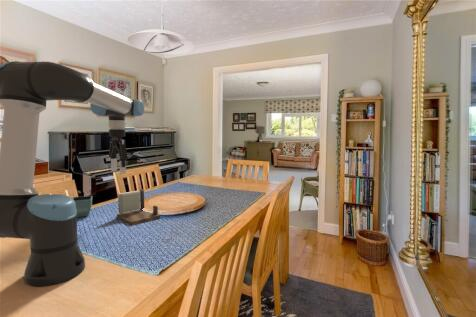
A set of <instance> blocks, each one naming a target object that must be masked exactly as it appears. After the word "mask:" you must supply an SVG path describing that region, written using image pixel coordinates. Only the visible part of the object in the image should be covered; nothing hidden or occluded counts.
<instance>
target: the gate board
mask: <svg viewBox="0 0 476 317" xmlns="http://www.w3.org/2000/svg"><path fill="white" fill-rule="evenodd" d="M139 191H140V209H138V210H133V211H128V212H123V213H121V214H120V213H117V214H116V218H118V219H120V220H121V221H123V222H125V223H126V224H128V225H129V226H134V225H138V224H142V223H146V222H150V221H154V220H159V219H161V214H159V208H158V205H153V206H152V212H153V213H149V212H145V211H143V210H142V209H143V208H145V189H144V188H142V189H140V190H139Z"/></svg>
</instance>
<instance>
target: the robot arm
mask: <svg viewBox="0 0 476 317" xmlns="http://www.w3.org/2000/svg"><path fill="white" fill-rule="evenodd" d="M47 101H73V102H76V103H88V104H90V105H89V106H90V108H89V109H90V111H91V112H92V113H93V114H94V115H96V116H99V117H101V116H102V117H108V128H109V129H108V136H109V137H111V138H110V139H109V151H108V157H109V159H110V167H111V168H110V171H111V172H118V164H119V174H120V175H124V174H126V173H127V168H126V166H127V165H126V162H127V160H128V159H129V158H128V152H127V146H126V139H123V138H124V137H126V129H125V128H126V124H127V122H126V118H125V117H134V118H135V117H142V116H143V114H144V112H145V106H144V105H145V104H144V102H143V101H142V100H140V99H136V98H134V99H131V98H129V97H126V96H124V95H122V94H120V93H118V92H116V91H114V90H111V89H110V88H107V87H105V86H103V85H101V84H98V83H97V82H95V81H93V79H92V78H91V77H90V76H89V75H87V74H84V73H82V72H80V71H78V70H76V69H74V68H72V67H68V66H66V65H63V64H60V63H56V62H54V61H17V60H16V61H15V60H14V61H9V62H8V61H7V62H3V63H0V105H1V106H2V107H3V118H2V129H1V130H2V131H1V140H0V238H2V239H4V238H5V239H6V238H8V239H21V240H22V239H24V240H29V246H30V254H29V256H28V261H27V264H26V267H25V269H24V273H23V274H24V276H23V277H24V283H25V284H26V285H28V286H31V287H47V286H53V285H57V284H60V283H63V282H66V281H68V280H71V279H73V278H75V277H76V276H78V275H79V274H81V273H82V272H83V271H84V269H86V268H85V267H86V259H85V256H84V255H83V253H82V252H83V251H82V250H81V248H80V246H79V242H78V219H77V218H78V217H77V210H76V205H75V201H74V199H72V198H73V197H71V196H70V195H69V196H68V195H66V194H65V195H64V194H60V193H58V194H56V193H53V194H51V193H50V194H48V193H47V194H39V191H38V190H37V189H35V188H34V181H35V180H34V179H35V170H36V169H35V168H36V161H37V160H36V158H37V157H36V156H37V146H38V135H39V125H40V114H41V113H42V112H43V111H45V110H46V109H47ZM117 154H118V157H119V160H117V159H118V157H117ZM118 161H119V163H118Z"/></svg>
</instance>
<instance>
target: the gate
mask: <svg viewBox="0 0 476 317" xmlns="http://www.w3.org/2000/svg"><path fill="white" fill-rule="evenodd" d="M117 197H118V200H117V201H118V214H121V213H125V212H130V211H134V210H139V209H140V190H133V191H128V192H120V193H117Z"/></svg>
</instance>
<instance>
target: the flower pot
mask: <svg viewBox="0 0 476 317" xmlns="http://www.w3.org/2000/svg"><path fill="white" fill-rule="evenodd" d="M71 198H72V199H74V201H75V205H76V210H77V218H80V217H81V218H82V217H88V216H90V213H91V210H92V206H93V195H86V196H82V195H81V196H73V197H71Z"/></svg>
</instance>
